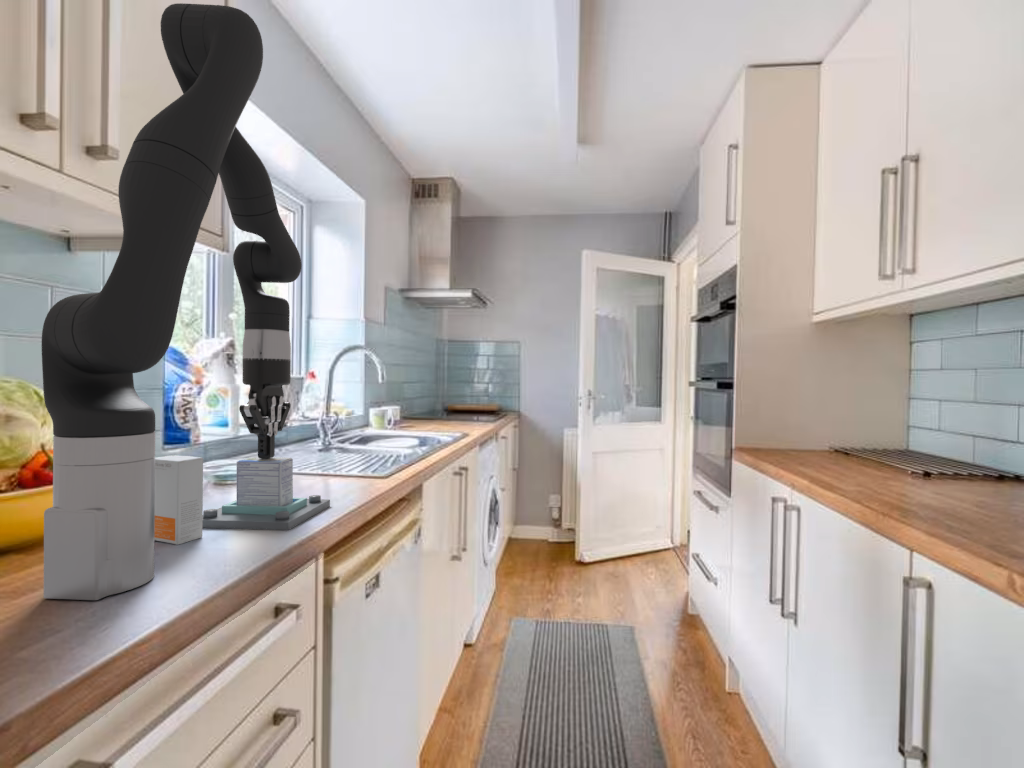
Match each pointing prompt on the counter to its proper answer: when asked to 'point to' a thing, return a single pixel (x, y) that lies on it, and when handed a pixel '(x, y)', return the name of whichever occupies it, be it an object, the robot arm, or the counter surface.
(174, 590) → the counter surface
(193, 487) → the skincare box
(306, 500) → the baseplate
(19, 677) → the counter surface
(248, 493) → the medicine box
